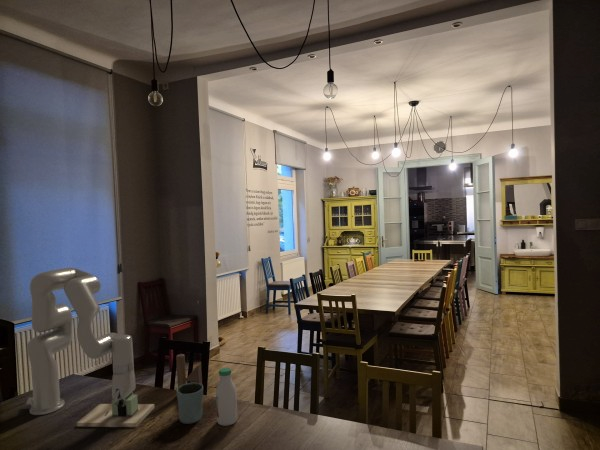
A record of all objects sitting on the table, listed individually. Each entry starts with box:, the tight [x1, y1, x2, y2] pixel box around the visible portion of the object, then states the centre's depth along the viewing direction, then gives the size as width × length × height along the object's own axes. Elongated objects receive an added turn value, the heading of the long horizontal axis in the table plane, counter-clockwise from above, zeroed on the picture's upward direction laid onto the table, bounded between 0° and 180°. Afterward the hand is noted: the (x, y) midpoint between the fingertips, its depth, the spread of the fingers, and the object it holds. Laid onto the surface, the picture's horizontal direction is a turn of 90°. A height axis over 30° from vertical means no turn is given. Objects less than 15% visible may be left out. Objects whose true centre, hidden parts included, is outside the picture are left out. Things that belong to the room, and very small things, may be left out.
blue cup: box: [176, 382, 204, 425], centre depth 158 cm, size 10×10×12 cm
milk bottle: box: [215, 367, 239, 427], centre depth 154 cm, size 8×8×20 cm
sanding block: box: [111, 394, 139, 417], centre depth 161 cm, size 8×5×6 cm, turn 84°
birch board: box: [76, 403, 155, 428], centre depth 162 cm, size 24×15×2 cm, turn 84°
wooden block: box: [175, 353, 203, 393], centre depth 177 cm, size 4×11×18 cm, turn 81°
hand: (126, 411), depth 161 cm, fingers closed on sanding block, 5 cm apart
